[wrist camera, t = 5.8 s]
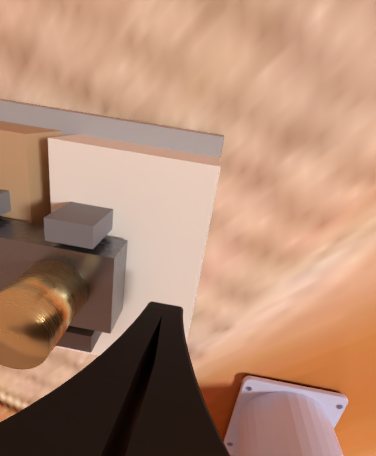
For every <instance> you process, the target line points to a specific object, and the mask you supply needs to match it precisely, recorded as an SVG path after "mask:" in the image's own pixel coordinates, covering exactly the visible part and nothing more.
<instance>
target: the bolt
mask: <svg viewBox="0 0 376 456" xmlns="http://www.w3.org/2000/svg"><path fill="white" fill-rule="evenodd" d="M127 244H128V240H123V239H118V238H112V237H107V236H105V237H104V238H103V239H102V240H101V241H100V242H99V243H98V244H97V245H96V246H95V248H94V249H89V248H83V247H78V246H72V245H67V244H61V243H56V242H50V241H45V235H44V225H40V224H35V223H29V222H23V221H18V220H12V219H7V218H1V217H0V364H1V365H3V366H6V367H10V368H14V369H30V368H34V367H37V366H39V365H40V364H42V363H43V362H44V361H45V359H46V358H47V356H48V355H49V354H50V352H51V351H52V349H53V348H54V347H55V345H56V344H57V342H58V341H59V340H60V338H61V337H62V335H63V334H64V333H65V331H66V330H67V328H68V327H69V326H74V327H79V328H84V329H89V330H94V331H99V332H104V333H110V334H111V332H112V330H113V328H114V326H115V324H116V322H117V320H118V318H119V316H120V314H121V312H122V310H123V301H124V286H125V272H126V258H127Z"/></svg>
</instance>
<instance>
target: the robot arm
mask: <svg viewBox="0 0 376 456" xmlns="http://www.w3.org/2000/svg"><path fill="white" fill-rule="evenodd" d="M247 386H249V387H247ZM347 404H348V399H347V397H346V396H345V395H344V394H341V393H336V392H331V391H326V390H321V389H316V388H311V387H306V386H300V385H295V384H290V383H285V382H280V381H275V380H270V379H265V378H260V377H255V376H246V377H244V379H243V381H242V384H241V388H240V391H239V394H238V397H237V400H236V403H235V406H234V410H233V413H232V416H231V419H230V422H229V425H228V429H227V432H226V435H225V438H224V441H222V439H221V437H220V434H219V432H218V430H217V428H216V426H215V424H214V422H213V419H212V417H211V415H210V413H209V411H208V409H207V406H206V404H205V401H204V399H203V396H202V394H201V391H200V388H199V385H198V383H197V380H196V377H195V374H194V370H193V367H192V363H191V360H190V356H189V352H188V348H187V343H186V338H185V332H184V324H183V308H182V307H180V306H174V305H169V304H163V303H158V302H152V301H151V302H150V303H148V305H147V306H146V307H145V309H144V310H143V311H142V313H141V314H140V315H139V316H138V317H137V319H136V320H135V321H134V322H133V323H132V324H131V325H130V326H129V327H128V329H127V330H126V331H125V332H124V333H123V334H122V335H121V336H120V337H119V338H118V339H117V340H116V341H115V342H114V343H113V344H112V345H111V346H110V347H108V348H107V349H106V350H105V351H104V352H103V353H102V354H101V355H100V356H98V357H97V358H96V359H95V360H94V361H93V362H91V363H90V364H89V365H88V366H86V367H85V368H84V369H83V370H81V371H80V372H79V373H77V374H76V375H75V376H73V377H72V378H71V379H69V380H68V381H66V382H65V383H64V384H62V385H61V386H59V387H58V388H56V389H55V390H53V391H52V392H50V393H49V394H47V395H46V396H44V397H42V398H41V399H39V400H38V401H36V402H34V403H33V404H31V405H30V406H28V407H26V408H25V409H23V410H22V411H20V412H18V413H16V414H15V415H13V416H11V417H9V418H7V419H5V420H4V421H2V422H0V456H230V455H232V456H343V453H342V450H341V448H340V445H339V442H338V439H337V437H336V434H335V431H334V428H335V426H336V424H337V422H338V420H339V418H340V417H341V415H342V413H343V411H344V409H345V407H346V406H347Z"/></svg>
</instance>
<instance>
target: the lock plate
mask: <svg viewBox="0 0 376 456" xmlns="http://www.w3.org/2000/svg"><path fill="white" fill-rule="evenodd" d="M223 141H224V135H218V134H212V133H206V132H200V131H193V130H187V129H181V128H175V127H169V126H163V125H157V124H150V123H144V122H138V121H132V120H126V119H120V118H114V117H108V116H101V115H95V114H89V113H83V112H77V111H71V110H65V109H58V108H52V107H46V106H40V105H34V104H28V103H22V102H16V101H9V100H3V99H0V217H1V218H7V219H12V220H18V221H23V222H29V223H35V224H40V225H44V235H45V241H50V242H56V243H61V244H67V245H72V246H78V247H83V248H89V249H94V248H95V246H96V245H97V244H98V243H99V242H100V241H101V240H102V239H103V238H104V237H105V236H107V237H112V238H118V239H123V240H128V244H127V258H126V272H125V286H124V301H123V310H122V312H121V314H120V316H119V318H118V320H117V322H116V324H115V326H114V328H113V330H112V332H111V334H110V333H104V332H99V331H94V330H89V329H84V328H79V327H74V326H69V327H68V328H67V330H66V331H65V333H64V334H63V335H62V337H61V338H60V340H59V341H58V342H57V344H56V345H55V346H57V348H62V349H68V350H73V351H78V352H83V353H88V354H93V355H98V356H100V355H101V354H102V353H103V352H104V351H105V350H106V349H107V348H108V347H110V346H111V345H112V344H113V343H114V342H115V341H116V340H117V339H118V338H119V337H120V336H121V335H122V334H123V333H124V332H125V331H126V330H127V329H128V327H129V326H130V325H131V324H132V323H133V322H134V321H135V320H136V319H137V317H138V316H139V315H140V314H141V313H142V311H143V310H144V309H145V307H146V306H147V305H148V303H150V302H151V301H152V302H158V303H163V304H169V305H174V306H180V307H182V308H183V324H184V332H185V338H186V343H187V340H188V335H189V330H190V325H191V320H192V314H193V309H194V304H195V299H196V294H197V289H198V283H199V278H200V273H201V268H202V263H203V257H204V252H205V247H206V242H207V237H208V231H209V226H210V221H211V216H212V211H213V206H214V200H215V195H216V190H217V185H218V180H219V174H220V169H221V159H220V157H221V152H222V146H223Z"/></svg>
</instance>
